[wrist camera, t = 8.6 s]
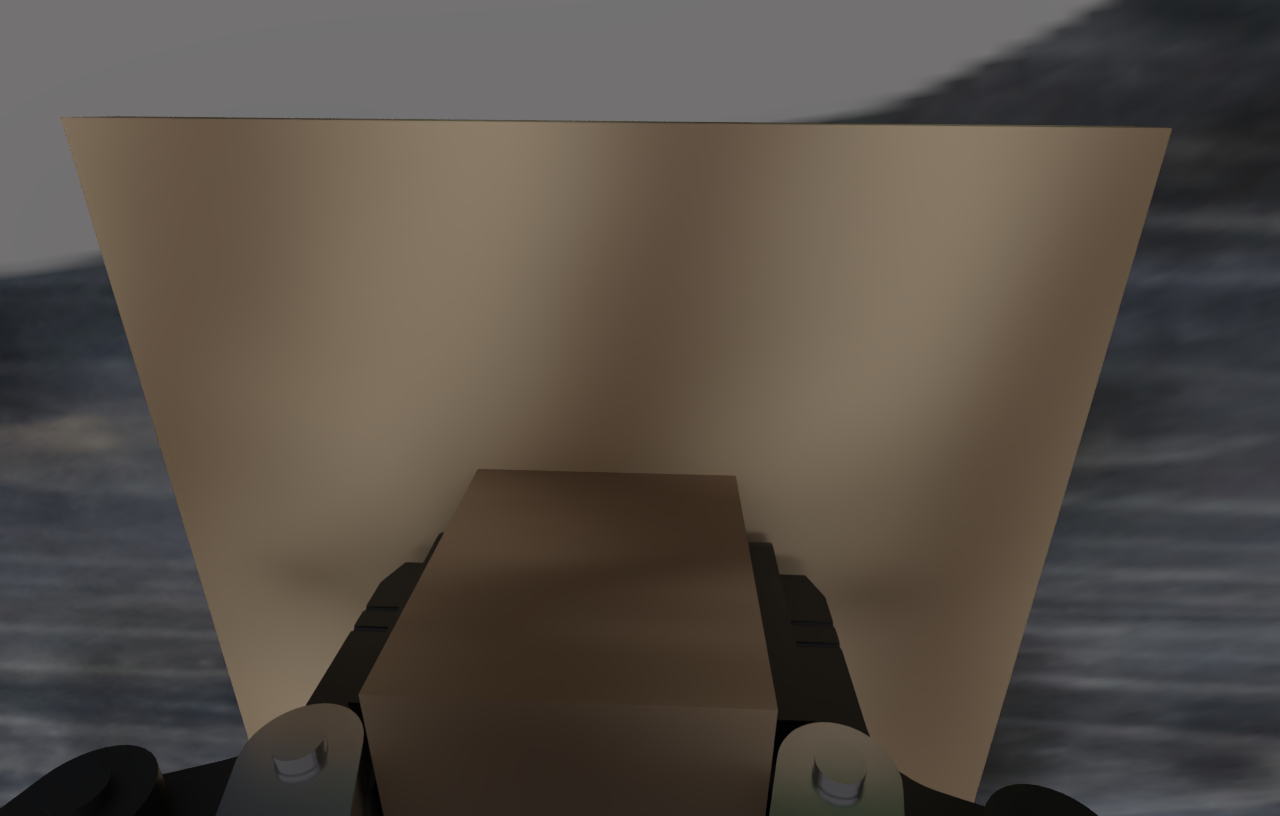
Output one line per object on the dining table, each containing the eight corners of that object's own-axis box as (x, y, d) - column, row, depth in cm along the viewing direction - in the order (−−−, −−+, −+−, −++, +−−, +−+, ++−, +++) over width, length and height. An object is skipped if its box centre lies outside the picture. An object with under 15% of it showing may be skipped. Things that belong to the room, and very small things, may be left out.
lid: (1123, 125, 9) (1653, 149, 4) (936, 822, 15) (1072, 1187, 10) (118, 116, 10) (-467, 126, 5) (302, 796, 15) (123, 1130, 10)
